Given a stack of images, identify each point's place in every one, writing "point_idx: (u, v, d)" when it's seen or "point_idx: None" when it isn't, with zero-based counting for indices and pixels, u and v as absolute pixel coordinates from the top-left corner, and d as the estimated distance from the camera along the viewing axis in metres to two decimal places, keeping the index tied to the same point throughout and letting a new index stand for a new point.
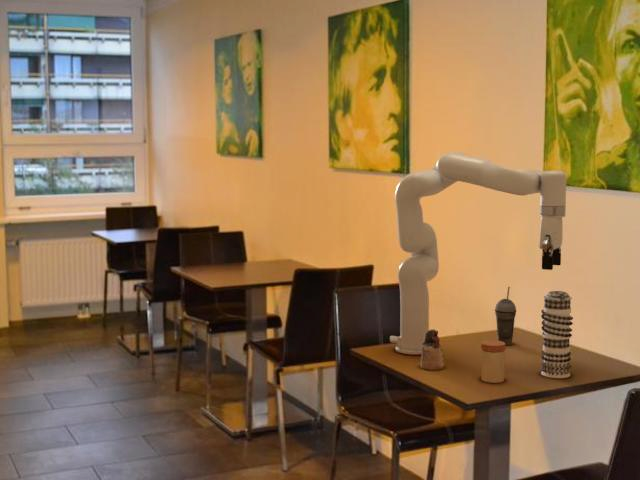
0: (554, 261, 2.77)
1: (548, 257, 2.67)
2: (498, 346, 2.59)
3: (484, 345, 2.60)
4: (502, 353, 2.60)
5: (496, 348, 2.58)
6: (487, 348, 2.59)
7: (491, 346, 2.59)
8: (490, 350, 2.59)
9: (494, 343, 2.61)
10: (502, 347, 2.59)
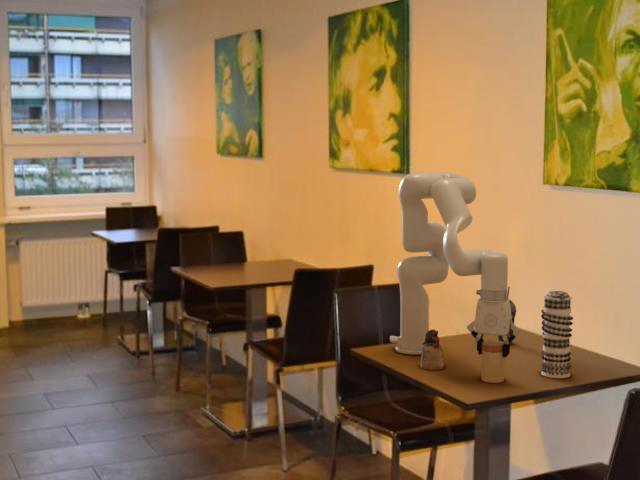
0: None
1: (509, 343, 2.60)
2: (498, 346, 2.59)
3: (484, 345, 2.60)
4: (502, 353, 2.60)
5: (496, 348, 2.58)
6: (487, 348, 2.59)
7: (491, 346, 2.59)
8: (490, 350, 2.59)
9: (494, 343, 2.61)
10: (502, 347, 2.59)
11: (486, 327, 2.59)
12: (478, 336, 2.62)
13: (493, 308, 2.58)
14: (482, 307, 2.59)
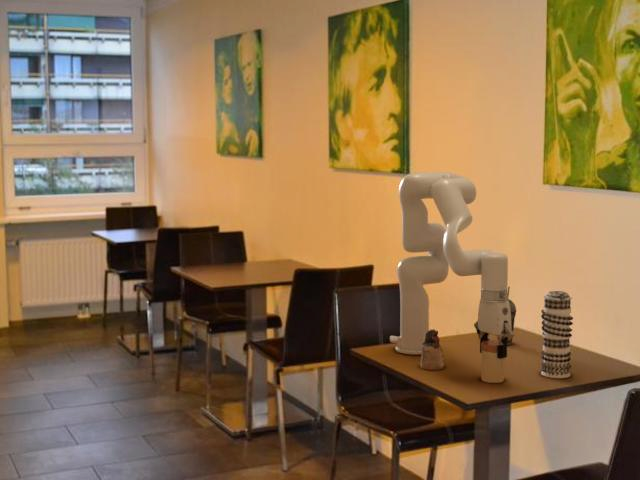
0: None
1: None
2: None
3: None
4: None
5: None
6: None
7: None
8: None
9: (493, 342, 2.62)
10: None
11: None
12: None
13: None
14: None
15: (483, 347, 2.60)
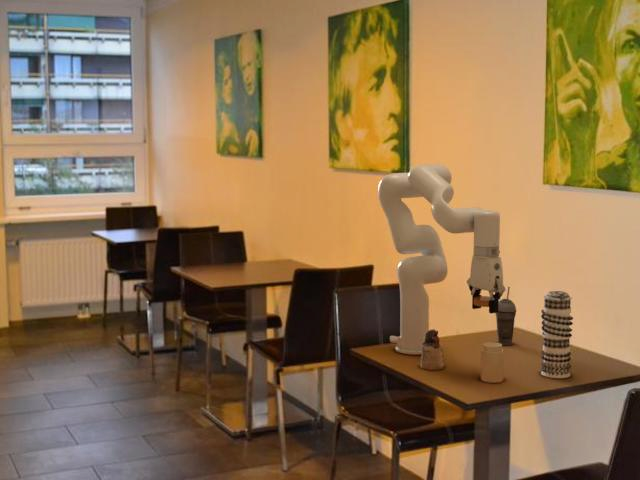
0: None
1: None
2: None
3: None
4: (501, 353, 2.60)
5: None
6: None
7: None
8: None
9: (485, 297, 2.68)
10: None
11: None
12: None
13: None
14: None
15: (475, 302, 2.66)
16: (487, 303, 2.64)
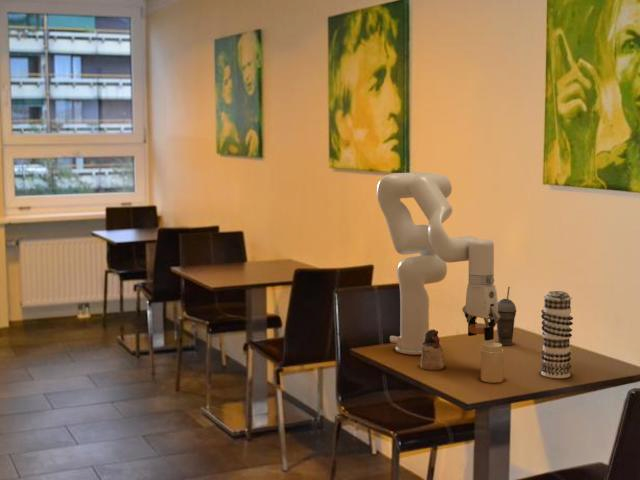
0: None
1: None
2: None
3: None
4: (501, 353, 2.60)
5: None
6: None
7: None
8: None
9: (480, 325, 2.73)
10: None
11: None
12: None
13: None
14: None
15: (471, 330, 2.71)
16: (482, 330, 2.69)
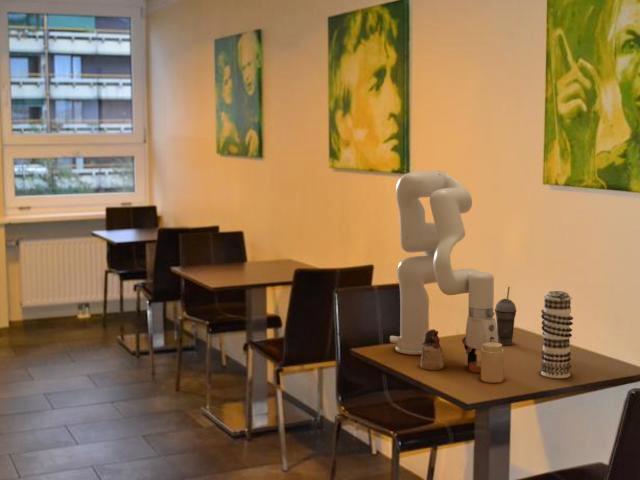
0: None
1: None
2: None
3: None
4: (501, 353, 2.60)
5: None
6: None
7: None
8: None
9: (480, 363, 2.75)
10: None
11: None
12: None
13: None
14: None
15: (470, 368, 2.72)
16: None
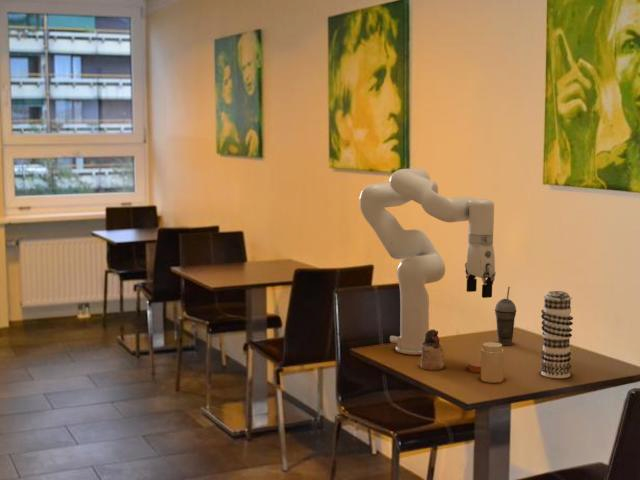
0: None
1: None
2: None
3: None
4: (501, 353, 2.60)
5: None
6: None
7: None
8: None
9: (480, 363, 2.75)
10: None
11: None
12: None
13: None
14: None
15: (470, 368, 2.72)
16: None
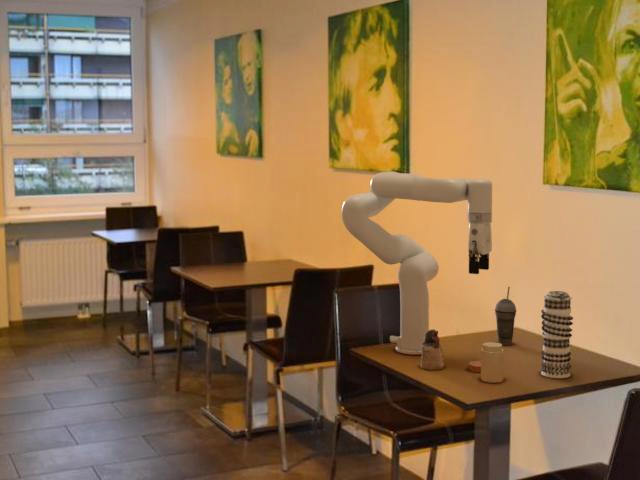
0: None
1: None
2: None
3: None
4: (501, 353, 2.60)
5: None
6: None
7: None
8: None
9: (480, 363, 2.75)
10: None
11: (486, 247, 2.81)
12: (477, 256, 2.79)
13: (488, 228, 2.82)
14: (485, 229, 2.79)
15: (470, 368, 2.72)
16: None
